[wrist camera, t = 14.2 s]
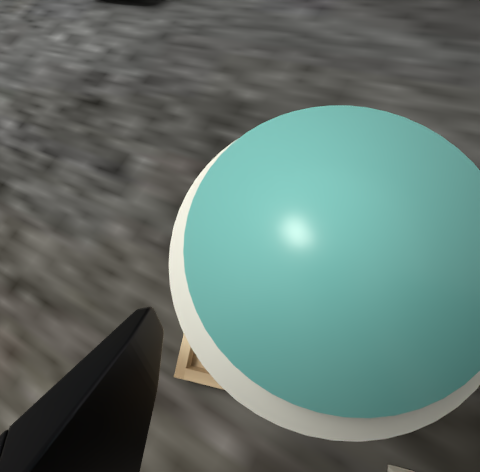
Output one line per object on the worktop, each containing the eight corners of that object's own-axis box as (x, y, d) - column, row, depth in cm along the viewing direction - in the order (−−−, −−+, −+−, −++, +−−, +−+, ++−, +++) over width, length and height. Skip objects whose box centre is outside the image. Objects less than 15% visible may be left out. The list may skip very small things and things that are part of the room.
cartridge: (328, 349, 16) (608, 552, 2) (240, 330, 17) (99, 404, 3) (337, 260, 17) (547, 84, 4) (254, 248, 18) (194, 72, 5)
